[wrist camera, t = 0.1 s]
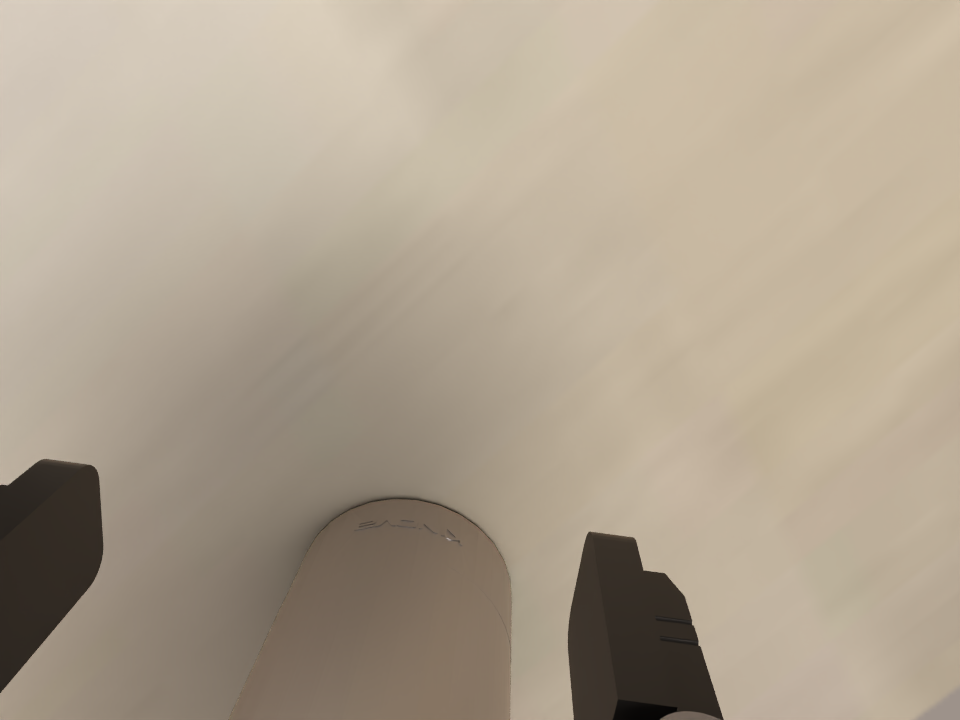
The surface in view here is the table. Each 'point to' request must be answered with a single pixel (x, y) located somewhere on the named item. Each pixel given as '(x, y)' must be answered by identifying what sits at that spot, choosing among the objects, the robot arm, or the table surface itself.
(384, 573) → the robot arm
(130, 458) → the table surface
